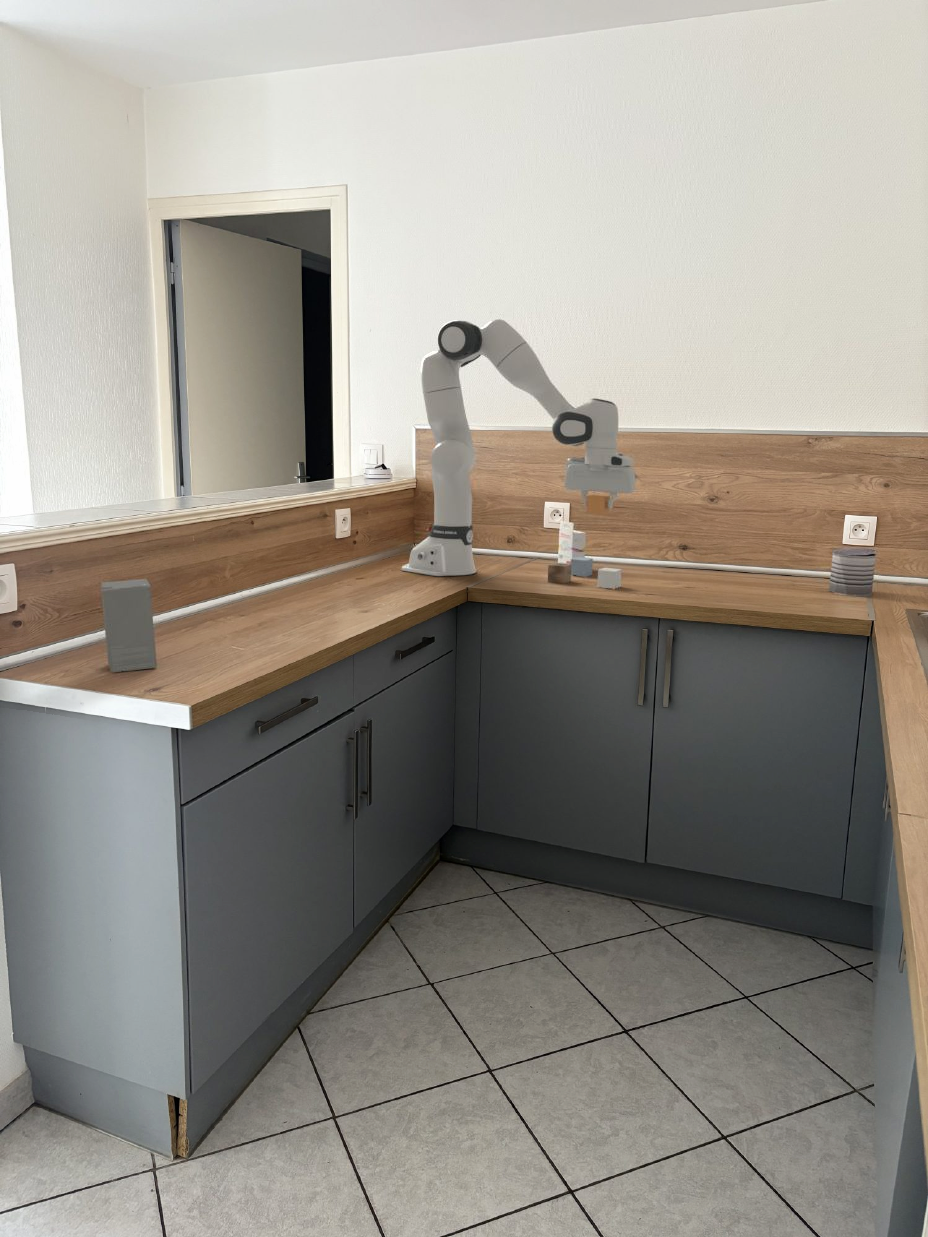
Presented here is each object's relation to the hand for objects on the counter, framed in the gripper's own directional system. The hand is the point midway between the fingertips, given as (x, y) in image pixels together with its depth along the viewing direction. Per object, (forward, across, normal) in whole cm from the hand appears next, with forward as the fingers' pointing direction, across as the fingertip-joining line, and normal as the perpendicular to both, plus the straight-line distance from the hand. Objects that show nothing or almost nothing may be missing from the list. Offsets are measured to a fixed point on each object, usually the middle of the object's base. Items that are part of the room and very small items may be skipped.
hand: (598, 507), depth 265 cm
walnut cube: (+21, -8, -7) cm, 24 cm away
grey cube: (+21, +7, -7) cm, 23 cm away
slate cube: (+21, -7, +7) cm, 23 cm away
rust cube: (+2, 0, 0) cm, 2 cm away
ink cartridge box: (+21, -14, +16) cm, 30 cm away
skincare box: (+21, -37, -136) cm, 143 cm away
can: (+21, +66, +24) cm, 73 cm away
